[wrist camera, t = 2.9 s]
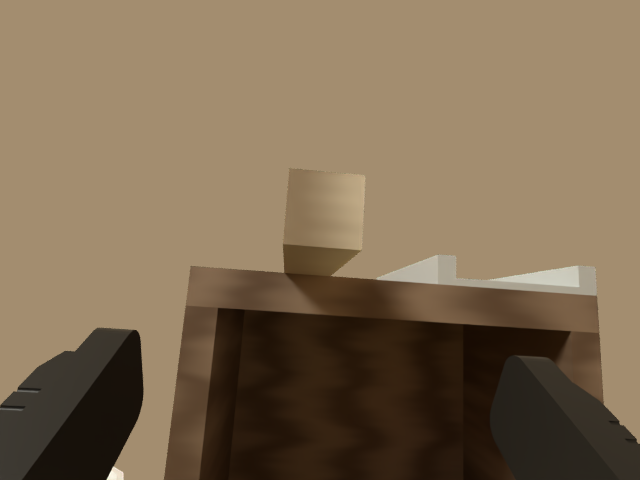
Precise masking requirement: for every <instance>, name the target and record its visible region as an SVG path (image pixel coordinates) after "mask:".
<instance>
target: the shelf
mask: <svg viewBox="0 0 640 480" xmlns="http://www.w3.org/2000/svg"><path fill="white" fill-rule="evenodd" d="M512 355H516V356H531V357H546V358H549V359H550V360H552V361H553V362H554V363H555V364H556V365H557V366H558V367H559V369H560V370H561V371H562V372H563V373H564V374H565V375H566V376H567V377H568V378H569V379H570V380H571V381H572V383H575V384H576V385H578V386H579V387H581V388H582V389H583V390H585V391H586V392H588V393H589V394H591V395H592V396H594V397H595V398H597V399H598V400H599V401H600V402H601V403H602V404H603V403H604V402H603V388H602V387H603V386H602V370H601V353H600V337H599V320H598V305H597V296H593V295H579V294H565V293H552V292H538V291H524V290H511V289H497V288H483V287H470V286H456V285H442V284H429V283H415V282H401V281H388V280H373V279H359V278H346V277H333V276H319V275H305V274H292V273H278V272H264V271H251V270H237V269H223V268H210V267H196V266H191V269H190V277H189V285H188V293H187V300H186V309H185V317H184V324H183V332H182V340H181V348H180V357H179V364H178V373H177V380H176V389H175V397H174V404H173V413H172V420H171V428H170V436H169V444H168V453H167V460H166V468H165V477H164V480H516V479H515V477H514V476H513V474H512V472H511V470H510V468H509V467H508V465H507V463H506V461H505V459H504V457H503V456H502V454H501V452H500V450H499V448H498V446H497V445H496V443H495V441H494V438H493V436H492V432H491V428H490V411H491V407H492V403H493V400H494V397H495V394H496V390H497V387H498V384H499V380H500V377H501V374H502V371H503V367H504V364H505V362H506V360H507V359H508V357H510V356H512ZM603 405H604V404H603Z"/></svg>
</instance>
